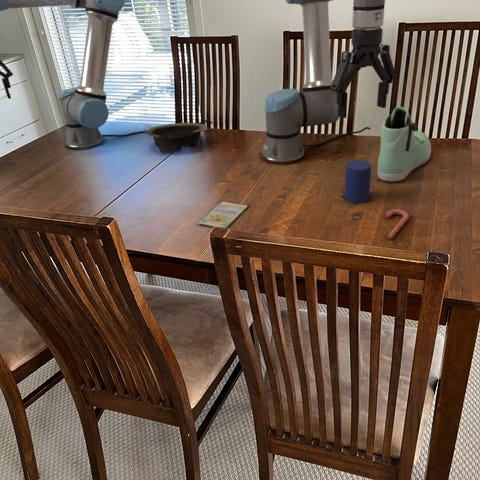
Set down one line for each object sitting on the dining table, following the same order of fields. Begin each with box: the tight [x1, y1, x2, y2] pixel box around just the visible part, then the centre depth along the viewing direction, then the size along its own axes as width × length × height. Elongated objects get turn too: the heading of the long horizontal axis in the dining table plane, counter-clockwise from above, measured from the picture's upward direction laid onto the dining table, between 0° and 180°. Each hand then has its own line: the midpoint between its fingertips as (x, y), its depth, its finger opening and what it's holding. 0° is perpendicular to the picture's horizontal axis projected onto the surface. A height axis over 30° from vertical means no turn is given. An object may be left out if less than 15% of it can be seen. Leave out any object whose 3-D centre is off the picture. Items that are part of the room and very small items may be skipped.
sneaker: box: [376, 106, 432, 183], centre depth 158 cm, size 14×35×20 cm, turn 152°
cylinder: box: [344, 159, 373, 204], centre depth 142 cm, size 7×7×11 cm
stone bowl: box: [143, 122, 208, 154], centre depth 192 cm, size 25×25×9 cm
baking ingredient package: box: [198, 201, 249, 228], centre depth 141 cm, size 9×1×15 cm
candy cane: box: [385, 208, 410, 240], centre depth 129 cm, size 6×15×2 cm, turn 145°
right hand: (362, 111), depth 131 cm, fingers open, 13 cm apart
